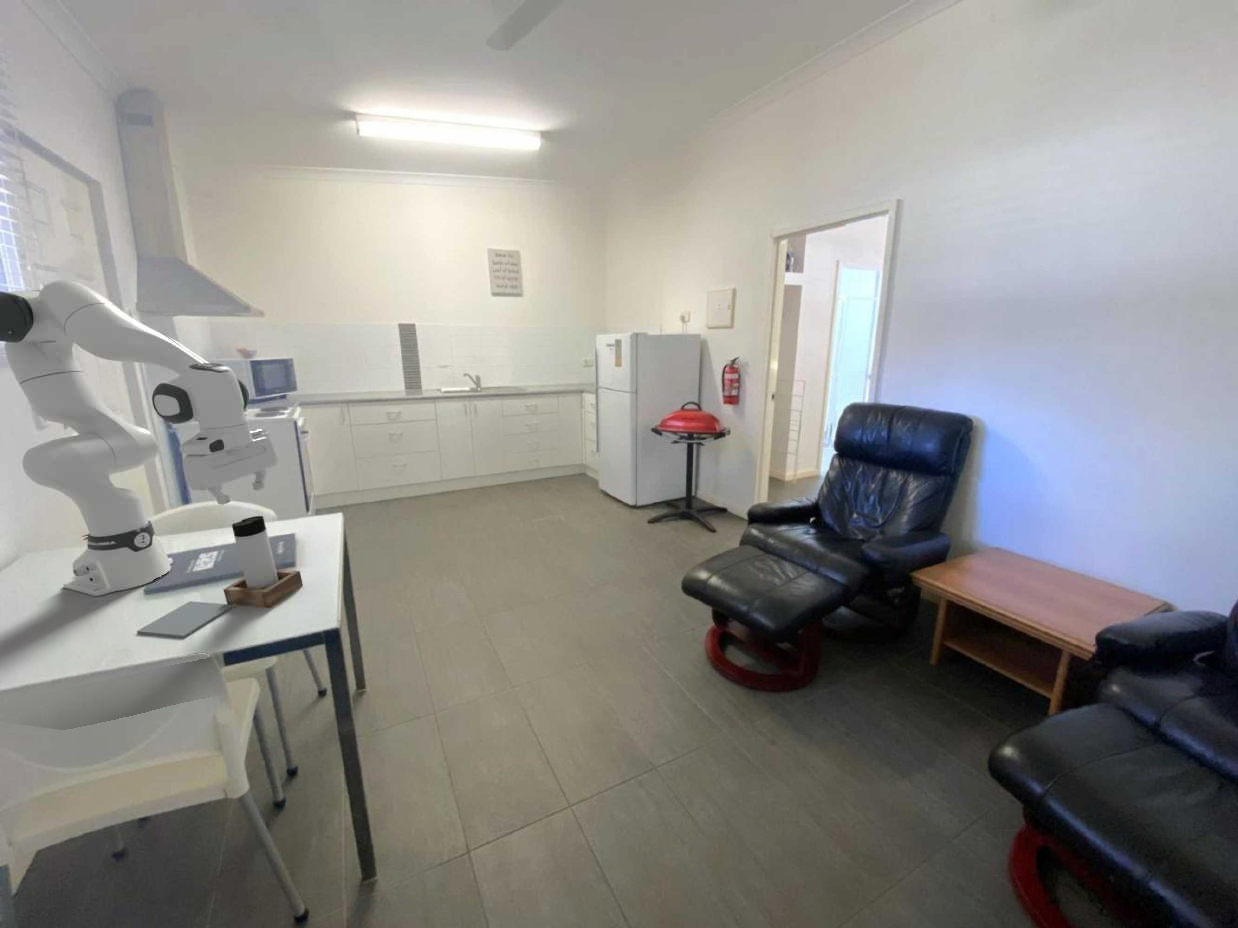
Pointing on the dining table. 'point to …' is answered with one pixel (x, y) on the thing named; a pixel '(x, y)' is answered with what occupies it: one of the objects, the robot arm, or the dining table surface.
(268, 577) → the travel mug
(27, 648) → the dining table surface
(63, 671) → the dining table surface
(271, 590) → the walnut tray
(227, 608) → the slate mat
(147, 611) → the dining table surface
